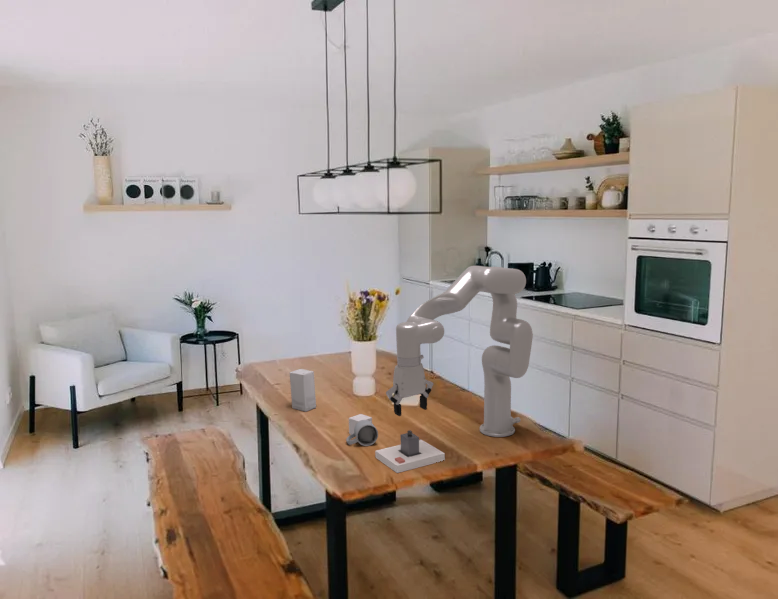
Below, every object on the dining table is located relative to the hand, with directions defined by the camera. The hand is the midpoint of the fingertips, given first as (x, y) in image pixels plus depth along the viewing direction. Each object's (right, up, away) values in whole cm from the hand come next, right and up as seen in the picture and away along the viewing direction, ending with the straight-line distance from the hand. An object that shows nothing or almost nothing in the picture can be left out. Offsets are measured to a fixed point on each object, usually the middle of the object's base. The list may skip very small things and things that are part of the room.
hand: (410, 411), depth 206 cm
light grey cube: (-17, -13, +26) cm, 33 cm away
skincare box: (-42, -8, +54) cm, 69 cm away
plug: (0, -16, +2) cm, 16 cm away
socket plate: (0, -16, +2) cm, 16 cm away
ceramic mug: (-17, -14, +17) cm, 28 cm away
